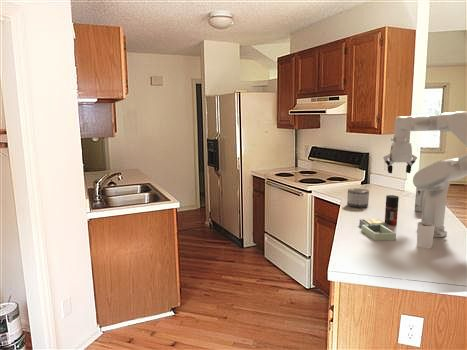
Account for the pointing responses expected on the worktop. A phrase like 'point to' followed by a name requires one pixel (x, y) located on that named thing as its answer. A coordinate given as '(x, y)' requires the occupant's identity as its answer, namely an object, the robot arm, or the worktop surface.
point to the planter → (358, 197)
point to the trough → (385, 234)
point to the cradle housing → (372, 225)
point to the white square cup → (425, 234)
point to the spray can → (419, 200)
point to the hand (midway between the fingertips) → (399, 172)
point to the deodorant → (391, 210)
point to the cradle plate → (373, 221)
